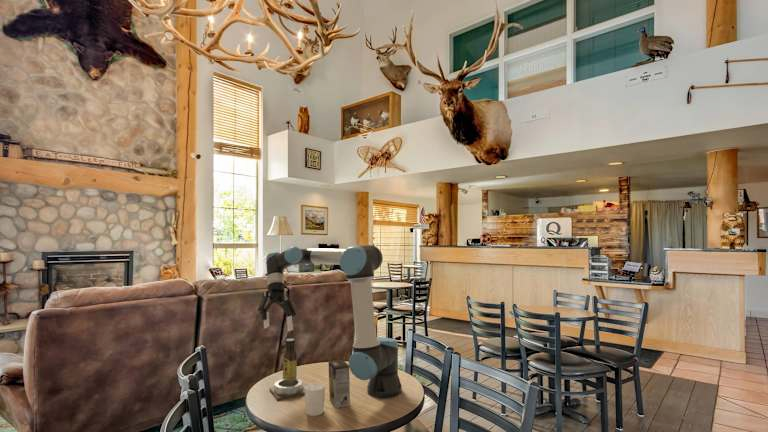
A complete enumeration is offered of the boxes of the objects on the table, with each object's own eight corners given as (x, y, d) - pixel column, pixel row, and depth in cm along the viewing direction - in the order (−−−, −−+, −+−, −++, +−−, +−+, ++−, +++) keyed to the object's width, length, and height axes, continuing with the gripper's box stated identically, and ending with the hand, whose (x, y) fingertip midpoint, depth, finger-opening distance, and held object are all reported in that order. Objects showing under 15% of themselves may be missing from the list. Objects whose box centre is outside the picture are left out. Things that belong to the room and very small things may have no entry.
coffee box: (329, 399, 172) (327, 361, 172) (343, 396, 174) (342, 358, 175) (335, 408, 163) (334, 367, 164) (350, 405, 166) (349, 365, 166)
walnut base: (307, 394, 177) (307, 392, 177) (277, 400, 170) (277, 398, 171) (297, 384, 188) (297, 382, 188) (269, 390, 182) (269, 387, 182)
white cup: (320, 417, 156) (320, 391, 156) (301, 415, 157) (301, 389, 157) (327, 408, 163) (327, 383, 164) (308, 407, 165) (309, 381, 165)
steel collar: (305, 391, 177) (305, 384, 177) (279, 397, 172) (279, 390, 172) (296, 383, 187) (296, 376, 187) (271, 388, 181) (271, 381, 182)
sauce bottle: (281, 380, 193) (282, 338, 193) (295, 379, 195) (295, 336, 196) (283, 385, 187) (284, 341, 187) (297, 383, 189) (298, 340, 190)
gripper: (290, 291, 203) (294, 334, 193) (248, 282, 184) (250, 328, 174) (301, 286, 200) (305, 329, 190) (259, 276, 181) (261, 323, 171)
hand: (278, 329), depth 182 cm, fingers open, 13 cm apart
